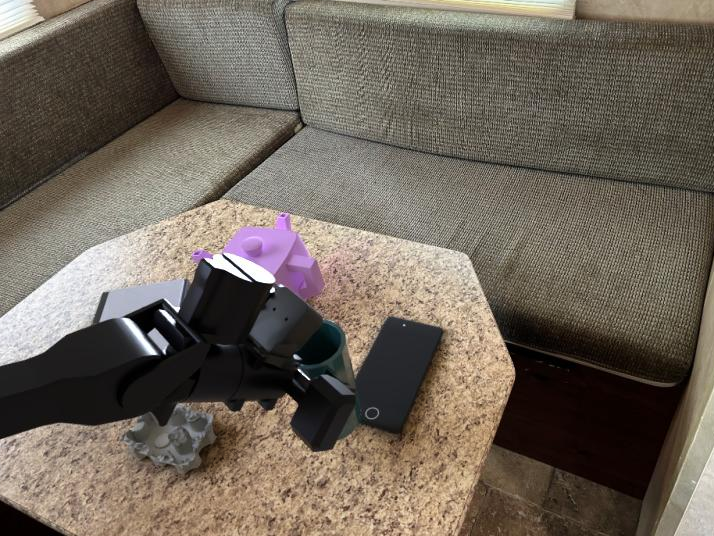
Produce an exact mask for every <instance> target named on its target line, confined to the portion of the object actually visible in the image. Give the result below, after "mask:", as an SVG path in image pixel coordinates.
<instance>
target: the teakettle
mask: <svg viewBox="0 0 714 536" xmlns="http://www.w3.org/2000/svg"><path fill="white" fill-rule="evenodd" d="M223 253H228V254H232V255H235V256H238V257H241V258H244V259H246V260H248V261H250V262H253V263H255V264H257V265H258V266H260V267H262V268H263V269H265V270H266V271H268V272H269V273H270V274H272V276H273V277H274V278H275V283H274V285H275V284H277V285H279V284H282V285H283V286H284V287H287V288H289V289H290V290H291V291H293V292H294V293H295V294H296V295H298V296H299V297H300V298H301V299H303V300H304V301H305V302H306V303H307V300H308V299H309V298H313V297H316V296H318V295H321V293H322V291H323V289H324V287H325V286H326V282H325V279H324V277H323V274H322V271H321V269H320V266H319V263H318V261H317V258H316V257H311V254H310V252H309V250H308V248H307V246H306V244H305V242H304V240H303V239H302V237H301V235H300V234H299V233H298V232H297V231H293V230H292V225H291V215H290V213H289V212H281V213H280V214H279V215H277V217H276V222H275V226H274V228H272V227H271V228H270V227H260V226H243V227H242V228H240V229H239V230H238V231H237V232H236V233H235V234H234V236H233V237H232V238H231V239H230V240H229V241H228V242H227V244H226V245H225V247H224V248H223V249H222V251H221V252H220V254H221V255H222V254H223ZM214 255H215V254H212V253H210V252H207V251H205V249H197V250H194V251H193V252H192V253H191V254H190V258H191V259H192V260H193V262H195V264H196V265H198V264H199V262H200V260H201V259H202V258H207V259H212V257H213V256H214ZM274 285H273V286H274ZM272 288H274V287H272Z"/></svg>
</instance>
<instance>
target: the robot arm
mask: <svg viewBox="0 0 714 536" xmlns="http://www.w3.org/2000/svg"><path fill="white" fill-rule="evenodd" d="M213 255H214V256H213V257H212V259H207V258H202V259H201V260H200V262H199V264H197V266H196V268H195V270H194V273H193V274H194V275H193V278H192V282H190V284H191V286H190V288H189V290H188V292H187V294H186V296H185V298H184V300H183V303H182V305H181V307H174V306H173V305H172V304H171V303H170V302H169V301H168V300H167V299H165V298H162V299H160V300H158V301H156V302H153V303H151V304H149V305H147V306H145V307H142V308H140V309H138V310H136V311H134V312H131V313H129V314H127V315H125V316H123V317H120V318H112V319H108V320H105V321H102V322H99V323H97V324H94V325H92V324H91V325H88V326H86V327H83V328H80V329H78V330H75V331H72V332H69V333H66V334H65V335H64V336H62V337H61V338H60V339H58V341H56V342H54V343H53V345H51V346H50V347H49V348H47V349H46V350H45V351H44V352H41V353H39V354H37V355H34V356H30V357H29V358H25V359H23V360H18V361H15V362H10V363H6V364H1V365H0V440H2V439H7V438H9V437H14V436H16V435H19V434H22V433H26V432H29V431H32V430H35V429H38V428H41V427H46V426H52V425H57V424H67V425H76V426H78V425H79V426H87V427H99V426H103V425H108V424H112V423H118V422H123V421H127V420H132V419H135V418H136V419H137V418H138V417H140V416H142V415H144V414H146V413H148V412H149V413H150V414H151V416H152V417H153V418H154V420H155V421H156V422H157V423H158V425H159V426H160V427H164V426H166V425H167V423H168V421H169V419H170V417H171V415H172V413H173V411H174V409H175V407H176V405H177V404H200V403H206V404H207V403H223V404H224V405H225V406H226V407H227V408H228V410H229V411H230V412H234V413H236V412H241V411H242V409H243V406H244V405H245V403H248V402H249V403H250V402H253V403H255V402H256V403H257V404H258V405H259V406H260V407H261V409H263V410H264V411H273V410H274V408H275V407H276V404H277V403H278V400H279V399H282V398H284V397H285V396H286V394H287V395H288V396H289V397H290V398H291V399H292V400H293V401H294V402H295V403H296V404H297V407H296V410H295V411H294V413H293V415H292V417H291V419H290V421H289V425H290V428H291V431H292V432H293V433H294V434H295V436H296V437H298V439H299V440H301V442H302V443H303V444H305V447H307V448H308V449H309V451H311V452H312V453H321V452H328V451H332V450H334V448H335V446H336V444H337V442H338V441H339V440H338V438H339V436H340V434H341V432H342V430H343V428H344V426H345V424H346V422H347V420H348V418H349V417H350V415H351V413H352V411H353V409H354V407H355V405H356V398H355V394H354V393H355V392H356V389H357V388H356V387H355V386H352V385H348V384H343V382H342V381H341V380H339V379H338V378H337V377H336V376H335V375H334V374H333V373H332V372H330V371H329V370H328V369H327V370H326V372H325V374H324V375H320V376H318V377H317V378H312V379H310V378H309V377H307V376H306V375H305V374H304V373H303V372H302V371H301V370H300V369H299V368H298V367H299V365H300V363H301V361H302V359H301V358H300V357H299V356H297V355H294V354H295V353H297V352H299V351H300V350H301V348H302V347H303V346H304V345H305V343H306V342H307V341H308V340H309V339H310V337H311V336H312V335H313V334H314V332H315V331H317V330H318V329H319V328H320V327H321V325H322V323H323V320H324V317H323V315H322V314H321V313H320V312H319V311H317V310H316V309H315V308H314V307H313V306H311V305H310V304H309V303H308V302H307V301H306V302H305V301H304V300H303V299H301V298H300V297H299V296H298V295H296V294H295V293H294V292H293V291H291V290H290V289H289V288H287V287H284V286H283V285H282V284H279V285H277V284H275V285H274V283H275V278H274V277H273V276H272V274H270V273H269V272H268V271H266V270H265V269H263V268H262V267H260V266H258V265H257V264H255V263H253V262H250V261H248V260H246V259H244V258H241V257H238V256H235V255H232V254H228V253H223V254H222V255H221V253H219V254H218V253H217V254H213ZM273 285H274V286H273ZM272 287H274V288H272ZM154 328H155V329H156V330H157V331H158V332H159V333H160V334H161V335H162V336H163V338H164V339H165V340H166V341H167V342H168V343H169V345H168V346H167V347H165V348H164V349H163V350H161V349H160V348H159V347H158V345H157V344H156V343H155V342H154V341H153V340H152V339H151V337H150V336H149V335H148V333H149V332H151V331H152V330H153V329H154ZM337 440H338V441H337Z"/></svg>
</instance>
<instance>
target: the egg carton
mask: <svg viewBox="0 0 714 536" xmlns="http://www.w3.org/2000/svg"><path fill="white" fill-rule="evenodd" d="M213 419H214V415H213V414H211V413H207V412H201V411H200V410H198V409H194V408H193V407H191V406H185V405H183V404H182V403H178V404H177V405H176V407H175V409H174V411H173V413H172V415H171V417H170V419H169V421H168V423H167V425H166V426H164V427H160V426H159V425H158V423H157V422H156V421H155V420H154V418H153V417H152V416H151V414H150V413H149V412H148V413H146V414H144V415H142V416H139V417H136V423H135V425H134V426H133V428H132V429H130V428H127V429H125V430H124V432H123V433H122V435H121V436H117V437H116V441H117V442H120V443H124V444H126V445H128V452H129V453H128V454H130V455H131V456H132V457H133V458H134V459H135V460H136V461H142V460H143V459H145V458H146V457H148V458H150V460H152V462H153V464H154V465H155V466H156V467H159V466H160V467H163V468H164V467H166V465H171V466H174V467H175V468H176V471H177V472H178V473H180V474H181V475H185V474H187V473H188V472H189V471H192V470H193V469H194V470H195V469H198V468H199V467H200V465H201V464H202V463H203V460H202V458H201V456H200V452H201V451H202V449H203V448H205V447H206V446H209V445H213V444H214V442H215V441H216V439H217V435H216V434H215V432H214V426H213V424H212V422H213Z"/></svg>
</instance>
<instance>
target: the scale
mask: <svg viewBox="0 0 714 536" xmlns="http://www.w3.org/2000/svg"><path fill="white" fill-rule="evenodd" d="M190 286H191V282H190V280H189V278H177V279H172V280H165V281H159V282H154V283H146V284H140V285H134V286H129V287H123V288H116V289H110V290H108V291H104V292H102V293H101V296H100V300H99V302H98V305H97V308H96V312H95V314H94V317H93V319H92V322H91V325H94V324H97V323H99V322H102V321H105V320H108V319H112V318H120V317H123V316H125V315H127V314H129V313H131V312H134V311H136V310H138V309H140V308H142V307H145V306H147V305H149V304H151V303H153V302H156V301H158V300H160V299H162V298H165V299H167V300H168V301H169V302H170V303H171V304H172V305H173V306H174V307H181V305H182V303H183V300H184V298H185V296H186V294H187V292H188V290H189V288H190ZM148 335H149V336H150V337H151V339H152V340H153V341H154V342H155V343H156V344H157V345H158V347H159V348H160V349H161V350H163V349H164V348H165V347H167V346H168V345H169V343H168V342H167V341H166V340H165V339H164V338H163V336H162V335H161V334H160V333H159V332H158V331H157V330H156V329H155V328H154V329H153V330H152V331H151V332H149V333H148Z"/></svg>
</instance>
